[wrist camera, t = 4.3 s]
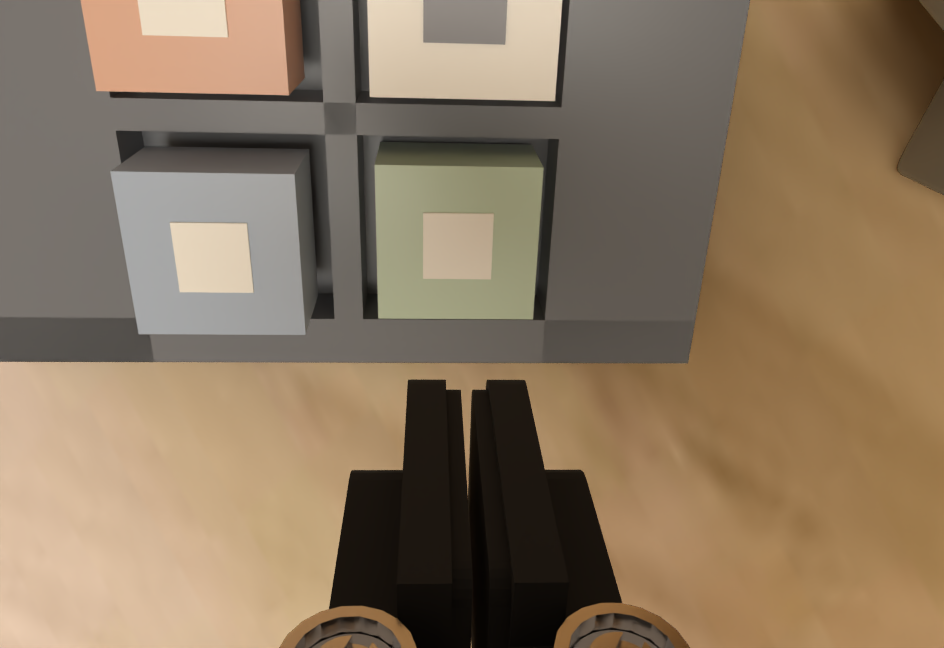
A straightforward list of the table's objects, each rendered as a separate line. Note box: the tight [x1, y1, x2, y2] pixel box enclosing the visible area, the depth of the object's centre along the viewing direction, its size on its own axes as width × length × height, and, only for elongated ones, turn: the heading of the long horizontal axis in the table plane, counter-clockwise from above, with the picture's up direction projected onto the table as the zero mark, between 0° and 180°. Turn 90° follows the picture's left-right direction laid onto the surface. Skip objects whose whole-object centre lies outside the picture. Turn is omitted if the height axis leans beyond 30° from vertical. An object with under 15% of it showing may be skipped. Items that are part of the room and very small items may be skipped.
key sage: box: [375, 142, 544, 319], centre depth 21 cm, size 4×4×3 cm
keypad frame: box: [0, 0, 750, 363], centre depth 21 cm, size 20×14×2 cm
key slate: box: [110, 146, 318, 335], centre depth 20 cm, size 4×4×3 cm
